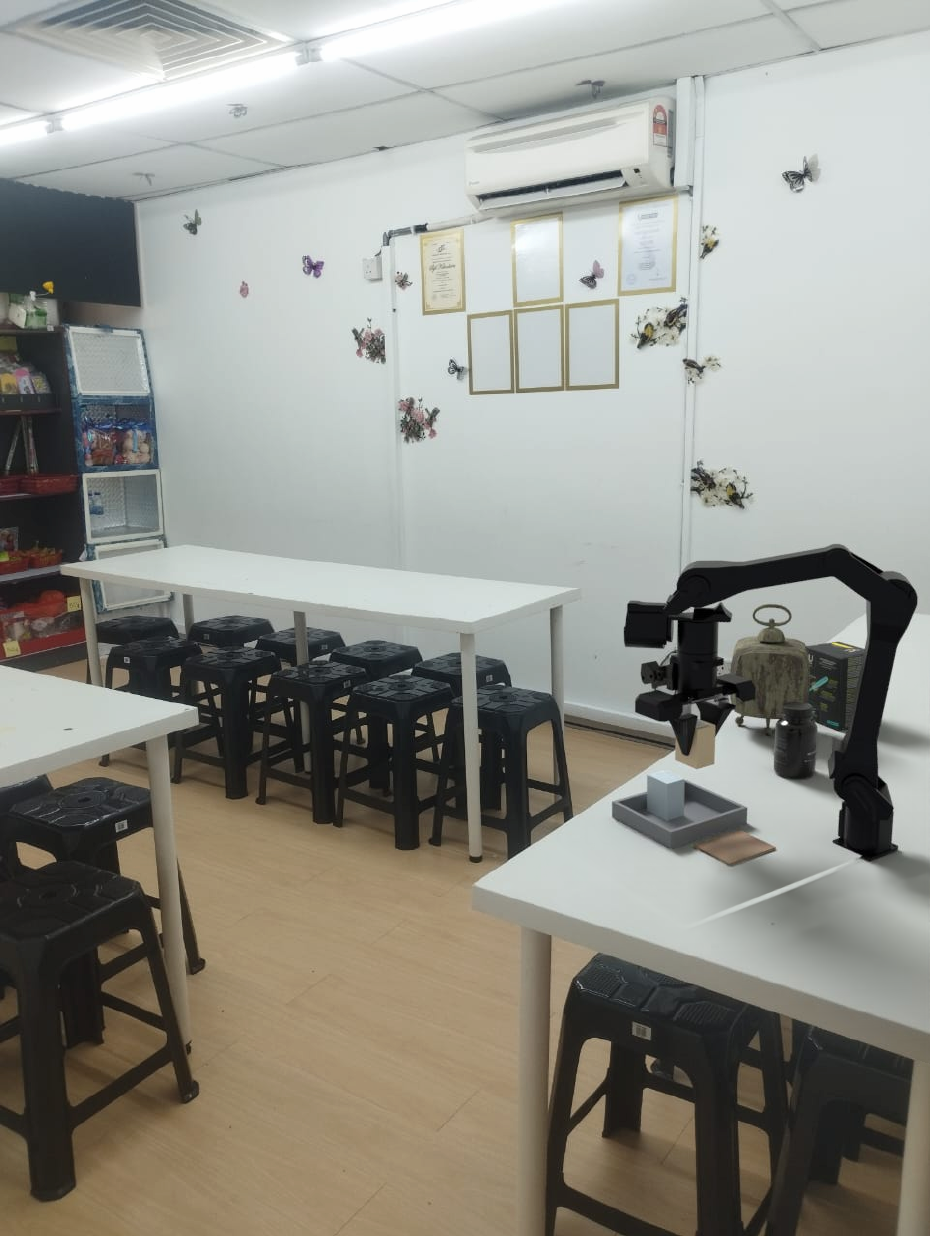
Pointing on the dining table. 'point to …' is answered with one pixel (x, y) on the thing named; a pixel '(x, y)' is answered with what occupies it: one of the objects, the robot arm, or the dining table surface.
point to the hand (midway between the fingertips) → (695, 752)
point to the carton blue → (665, 795)
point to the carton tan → (699, 747)
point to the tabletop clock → (771, 671)
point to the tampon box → (833, 682)
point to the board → (734, 847)
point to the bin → (699, 819)
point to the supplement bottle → (795, 742)
